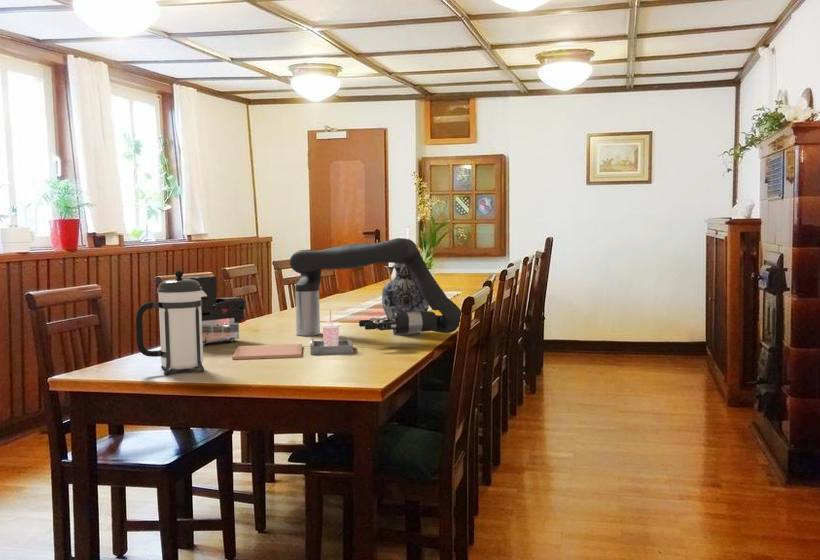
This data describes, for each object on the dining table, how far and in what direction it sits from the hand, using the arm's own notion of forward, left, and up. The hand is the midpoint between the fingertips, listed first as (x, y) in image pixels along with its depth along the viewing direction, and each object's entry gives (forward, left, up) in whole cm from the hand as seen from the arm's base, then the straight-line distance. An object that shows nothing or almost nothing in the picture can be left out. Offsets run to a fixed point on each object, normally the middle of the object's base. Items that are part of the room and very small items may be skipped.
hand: (362, 325), depth 268 cm
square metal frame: (+2, -11, -8) cm, 14 cm away
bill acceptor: (-25, -54, -8) cm, 60 cm away
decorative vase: (-33, +19, -8) cm, 39 cm away
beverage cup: (+2, -11, -8) cm, 14 cm away
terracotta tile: (+2, -32, -8) cm, 33 cm away
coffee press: (+30, -57, -8) cm, 65 cm away
